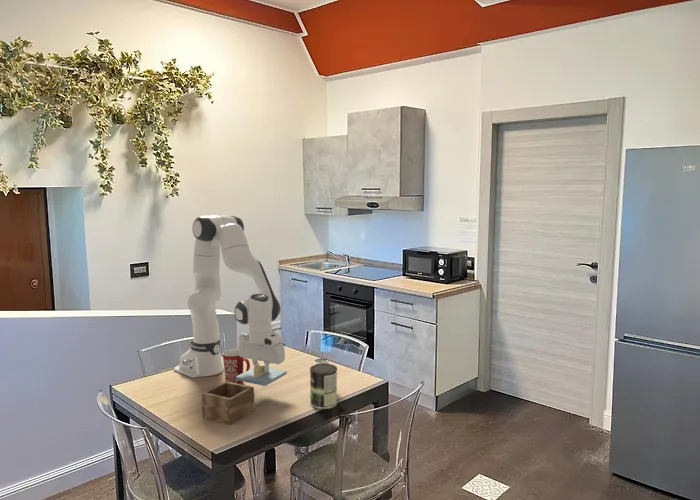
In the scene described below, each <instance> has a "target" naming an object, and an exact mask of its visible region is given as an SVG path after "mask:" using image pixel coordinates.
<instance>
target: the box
mask: <svg viewBox="0 0 700 500" xmlns="http://www.w3.org/2000/svg"><path fill="white" fill-rule="evenodd" d="M254 387H255V386H249V385H245V384H237V383H232V382H228V381H226V382H225V381H224V382H222V383H220V384H218V385H215V386H214V387H212V388H209V389H207V390H205V391H203V392H201V405H202V407H201V408H202V418H204V419H209V420H212V421H215V422H220V423H223V424H227V425H230V426H232V425H233V424H235V423H236V422H238V421H239V420H241V419H242V418H245V417H246V416H248V415H250V414H251V413H253V412H254V411H255V391H254V389H255V388H254Z"/></svg>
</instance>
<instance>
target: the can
mask: <svg viewBox="0 0 700 500" xmlns="http://www.w3.org/2000/svg"><path fill="white" fill-rule="evenodd" d="M317 364H330V361H329V359H327V358H316V359H315V360H314V363H313V365H317Z"/></svg>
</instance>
